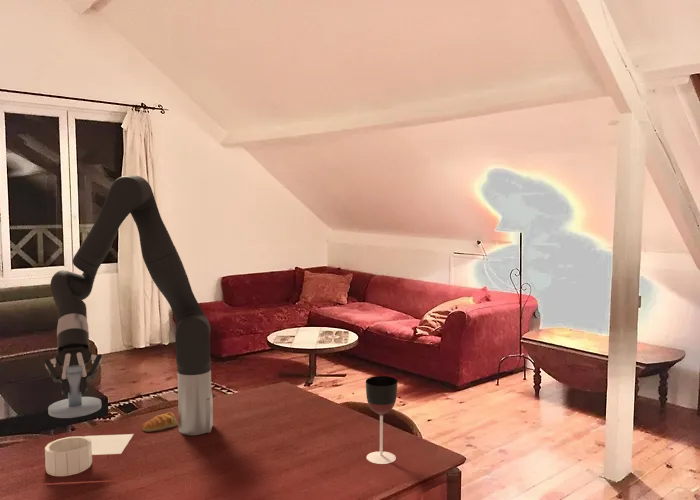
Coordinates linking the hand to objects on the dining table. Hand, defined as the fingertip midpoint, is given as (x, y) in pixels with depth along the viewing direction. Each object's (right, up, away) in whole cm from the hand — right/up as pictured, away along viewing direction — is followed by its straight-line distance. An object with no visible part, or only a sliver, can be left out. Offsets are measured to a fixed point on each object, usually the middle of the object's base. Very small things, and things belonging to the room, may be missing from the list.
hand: (74, 393), depth 145 cm
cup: (-1, -18, -1) cm, 18 cm away
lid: (-1, -4, +2) cm, 5 cm away
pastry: (+13, -16, +26) cm, 33 cm away
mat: (+2, -17, +13) cm, 21 cm away
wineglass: (+76, -18, +6) cm, 78 cm away
